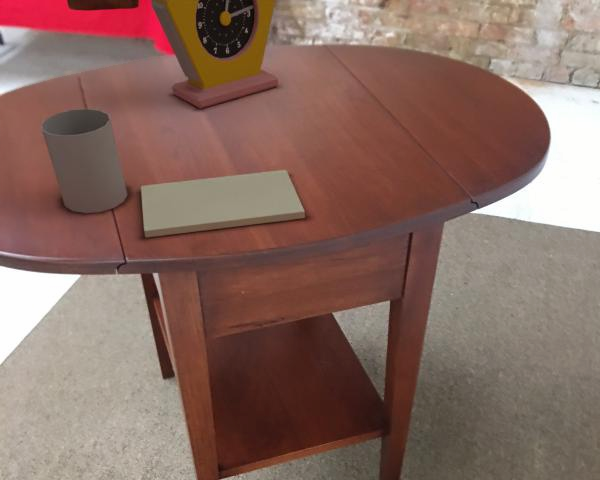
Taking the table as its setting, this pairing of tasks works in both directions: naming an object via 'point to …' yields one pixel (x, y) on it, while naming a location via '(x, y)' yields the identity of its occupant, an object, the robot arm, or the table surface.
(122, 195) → the cup
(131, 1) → the wooden figurine
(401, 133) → the table surface
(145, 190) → the mat
